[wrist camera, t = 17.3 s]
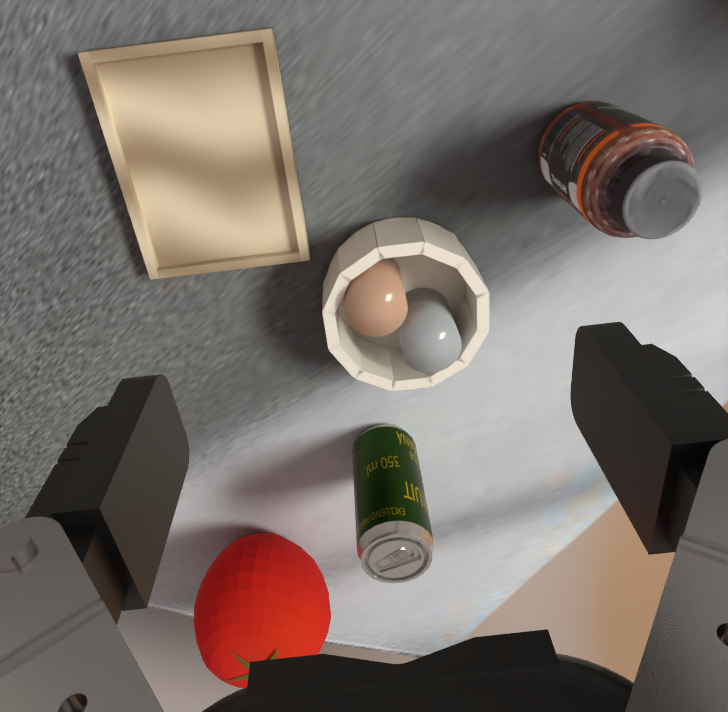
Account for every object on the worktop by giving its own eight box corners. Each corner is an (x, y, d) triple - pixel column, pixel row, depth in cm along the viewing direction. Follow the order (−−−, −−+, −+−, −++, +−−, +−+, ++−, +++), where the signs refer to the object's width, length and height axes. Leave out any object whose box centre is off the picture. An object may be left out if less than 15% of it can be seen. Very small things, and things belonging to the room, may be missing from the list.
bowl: (314, 226, 41) (313, 254, 37) (472, 207, 41) (489, 233, 37) (335, 360, 47) (336, 397, 43) (474, 343, 47) (489, 379, 43)
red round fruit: (193, 568, 59) (162, 702, 48) (230, 492, 54) (205, 622, 43) (301, 597, 62) (295, 728, 51) (346, 527, 57) (350, 657, 46)
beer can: (373, 478, 54) (383, 595, 44) (339, 439, 51) (342, 553, 41) (426, 451, 52) (449, 565, 42) (394, 410, 50) (411, 520, 40)
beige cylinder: (343, 249, 42) (344, 281, 37) (401, 248, 42) (409, 280, 38) (344, 301, 44) (345, 337, 40) (399, 300, 44) (406, 336, 40)
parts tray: (85, 50, 35) (77, 53, 34) (273, 27, 35) (271, 28, 34) (154, 272, 43) (150, 279, 42) (310, 253, 42) (309, 260, 41)
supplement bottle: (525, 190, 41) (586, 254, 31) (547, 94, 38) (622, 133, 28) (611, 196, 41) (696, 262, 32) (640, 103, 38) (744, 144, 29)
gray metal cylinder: (391, 291, 44) (398, 325, 39) (447, 284, 43) (460, 317, 39) (397, 339, 46) (404, 376, 41) (450, 332, 46) (462, 368, 41)
